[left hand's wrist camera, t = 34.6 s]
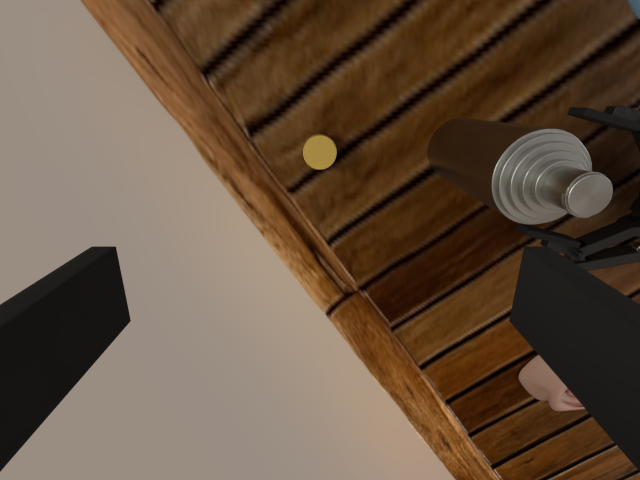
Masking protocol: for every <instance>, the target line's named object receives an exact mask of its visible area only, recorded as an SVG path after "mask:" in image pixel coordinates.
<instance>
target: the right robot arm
mask: <svg viewBox="0 0 640 480" xmlns="http://www.w3.org/2000/svg"><path fill="white" fill-rule="evenodd" d="M567 115H571V116H574V117H578V118H581V119H585V120H588V121H592V122H595V123H599V124H603V125H606V126H610V127H613V128H617V129H620V130H631V132H632V134H633V136H634V139H635V141H636V144H637V146H638V148H639V151H640V109H639V110H634V109H630V108H627V107H624V106H607V108H606V110H605V112H604V113H603V112H600V111H596V110H593V109H589V108H570V109H569V111H568V114H567ZM630 209H631V210H632V212H631V213H630V214H628V215H625V216H623V217H621V218H618V219H617V222H615V223H612V224H610V225H607V226H605V227H602V228H600V229H598V230H595V231H593V232H590V233H588V234H586V235H583V236H581V237H578V238H576V239H573V238H571V237H570V236H568V235H565V234H561V233H557V232H553V231H549V230H545V229H541V228H537V227H533V226H529V225H525V224H521V223H518V224H517V226H516V228H515V229H517V230H519V231H520V232H522V233H523V234H525V235H526V236H530V237H534V238H538V239H542V241H541V243H540V244H541V245H543V246H544V247H549V248H551V249H553V250H554V251H556V252H559V253H563V254H564V257H565V258H567V259H568V260H570V261H571V262H573V263H575V264H576V265H578V266H579V267H581V268H583V269H584V270H586V271H590V270H596V269H601V268H606V267H611V266H617V265H622V264H627V263H633V262H640V242H635V243H634V242H631V243H630V245H622V246H616V247H611V248H607V247H610V246H612V245H615V244H617V243H620V242H622V241H625V240H627V239H630V238H632V237H636V236H637V237H640V192H639V196H638V198H637V199H636V200H635V201H634V203H633V204H632V206H631V208H630Z"/></svg>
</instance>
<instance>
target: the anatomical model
mask: <svg viewBox="0 0 640 480" xmlns="http://www.w3.org/2000/svg"><path fill="white" fill-rule="evenodd" d="M519 380H520V382H521V384H522V385H523V386H524V388H525V389H526V390H527V391H528V392H529V393H530V394H531V395H532V396H533V397H535V398H536V399H538V400H542V401H548V402H549V405H550V407H551V408H552V409H553V410H555V411H568V410H578V409H585V408H584V407H583V405H582V404H581V403H580V402H579V401H578V400H577V398H576V397H575V396H574V395H573V394H572V393H571V391H570V390H569V389H568V388H567V387H566V386H565V385H564V383H563V382H562V381H561V380H560V379H559V378H558V376H557V375H556V374H555V373H554V372H553V371H552V370H551V368H550V367H549V366H548V365H547V364H546V363H545V361H544V360H543V359H542V358H541V357H540V356H539V355H537V356H536V357H535V358H533V359H532V360H531V361H530V362H529V363H527V364H526V365H525V366H524V368H523V369H522V370H521V371H520V373H519Z"/></svg>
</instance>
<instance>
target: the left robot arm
mask: <svg viewBox="0 0 640 480" xmlns="http://www.w3.org/2000/svg"><path fill="white" fill-rule="evenodd" d="M627 1H628V3H629V5H630V8H631V10H632V12H633V14H634V15H635V16H636V17H637V18H639V19H640V0H627ZM130 321H131V320H130V315H129V310H128V305H127V300H126V295H125V290H124V285H123V281H122V275H121V271H120V266H119V261H118V256H117V251H116V247H91V248H89V249H88V250H86V251H84V252H83V253H81V254H80V255H78V256H76V257H75V258H73V259H72V260H70V261H69V262H67V263H65V264H64V265H62V266H61V267H59V268H57V269H56V270H54V271H53V272H51V273H50V274H48V275H46V276H45V277H43V278H42V279H40V280H39V281H37V282H35V283H34V284H32V285H31V286H29V287H28V288H26V289H24V290H23V291H21V292H20V293H18V294H16V295H15V296H13V297H12V298H10V299H9V300H7V301H5V302H4V303H2V304H1V305H0V471H1V470H2V469H3V468H4V467H5V465H6V464H7V463H8V462H9V461H10V460H11V458H12V457H13V456H14V455H15V454H16V453H17V452H18V450H19V449H20V448H21V447H22V446H23V445H24V443H25V442H26V441H27V440H28V439H29V438H30V436H31V435H32V434H33V433H34V432H35V431H36V430H37V428H38V427H39V426H40V425H41V424H42V423H43V422H44V420H45V419H46V418H47V417H48V416H49V415H50V413H51V412H52V411H53V410H54V409H55V408H56V407H57V405H58V404H59V403H60V402H61V401H62V400H63V398H64V397H65V396H66V395H67V394H68V393H69V391H70V390H71V389H72V388H73V387H74V386H75V385H76V383H77V382H78V381H79V380H80V379H81V378H82V376H83V375H84V374H85V373H86V372H87V371H88V369H89V368H90V367H91V366H92V365H93V364H94V363H95V361H96V360H97V359H98V358H99V357H100V356H101V355H102V353H103V352H104V351H105V350H106V349H107V348H108V346H109V345H110V344H111V343H112V342H113V341H114V339H115V338H116V337H117V336H118V335H119V334H120V333H121V331H122V330H123V329H124V328H125V327H126V326H127V324H128V323H129V322H130ZM509 321H510V322H511V323H512V324H513V326H514V327H515V328H516V329H517V330H518V331H519V333H520V334H521V335H522V336H523V337H524V338H525V340H526V341H527V342H528V343H529V344H530V345H531V346H532V348H533V349H534V350H535V351H536V352H537V353H538V355H539V356H540V357H541V358H542V359H543V360H544V361H545V363H546V364H547V365H548V366H549V367H550V368H551V370H552V371H553V372H554V373H555V374H556V375H557V376H558V378H559V379H560V380H561V381H562V382H563V383H564V385H565V386H566V387H567V388H568V389H569V390H570V391H571V393H572V394H573V395H574V396H575V397H576V398H577V400H578V401H579V402H580V403H581V404H582V405H583V407H584V408H585V409H586V410H587V411H588V412H589V413H590V415H591V416H592V417H593V418H594V419H595V420H596V422H597V423H598V424H599V425H600V426H601V427H602V428H603V430H604V431H605V432H606V433H607V434H608V435H609V437H610V438H611V439H612V440H613V441H614V442H615V443H616V445H617V446H618V447H619V448H620V449H621V450H622V452H623V453H624V454H625V455H626V456H627V457H628V458H629V460H630V461H631V462H632V463H633V464H634V465H635V467H636V468H637V469H638V470H639V471H640V305H639V304H638V303H636V302H635V301H633V300H631V299H630V298H628V297H627V296H625V295H624V294H622V293H620V292H619V291H617V290H616V289H614V288H613V287H611V286H609V285H608V284H606V283H605V282H603V281H601V280H600V279H598V278H597V277H595V276H594V275H592V274H590V273H589V272H587V271H586V270H584V269H583V268H581V267H579V266H578V265H576V264H575V263H573V262H571V261H570V260H568V259H567V258H565V257H564V256H562V255H560V254H559V253H557V252H556V251H554V250H553V249H551V248H549V247H524V251H523V256H522V261H521V265H520V270H519V275H518V280H517V285H516V290H515V295H514V300H513V305H512V310H511V315H510V320H509Z"/></svg>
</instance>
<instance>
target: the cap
mask: <svg viewBox="0 0 640 480" xmlns="http://www.w3.org/2000/svg"><path fill="white" fill-rule="evenodd" d="M303 148H304V149H303V156H304V160H305V161H306V163H307V164H308V165H309V166H310V167H312V168H314V169H319V170H321V169H326V168H328V167H329V166H331V165H332V164H333V162H334V161H335V159H336V155H337V150H336V149H337V148H336V146H335V143H334V141H333V140H332V139H331V138H330V137H329V136H327V135H324V134H319V133H318V134H316V135H315V134H314V135H313V136H311V137H310V138H309V139H308V140H307V141H306V142H305V146H304V147H303Z"/></svg>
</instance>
